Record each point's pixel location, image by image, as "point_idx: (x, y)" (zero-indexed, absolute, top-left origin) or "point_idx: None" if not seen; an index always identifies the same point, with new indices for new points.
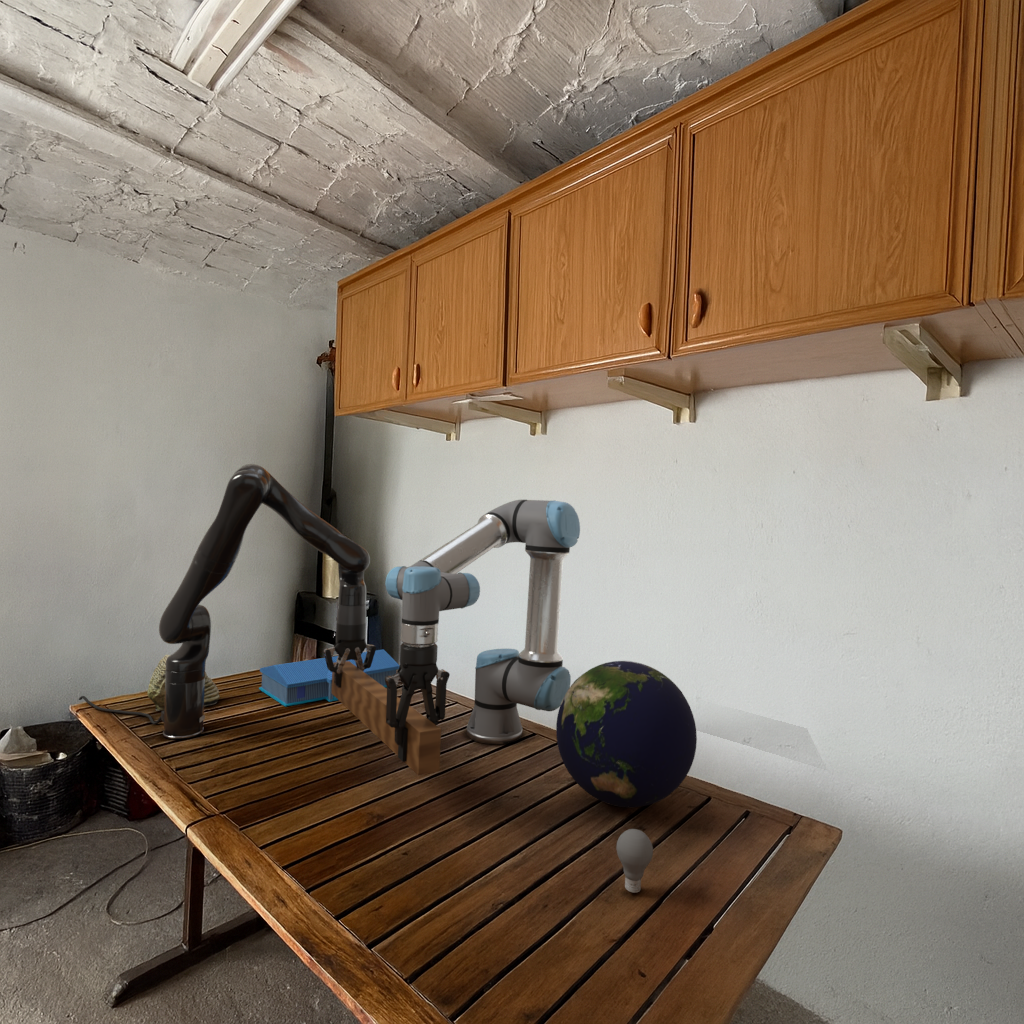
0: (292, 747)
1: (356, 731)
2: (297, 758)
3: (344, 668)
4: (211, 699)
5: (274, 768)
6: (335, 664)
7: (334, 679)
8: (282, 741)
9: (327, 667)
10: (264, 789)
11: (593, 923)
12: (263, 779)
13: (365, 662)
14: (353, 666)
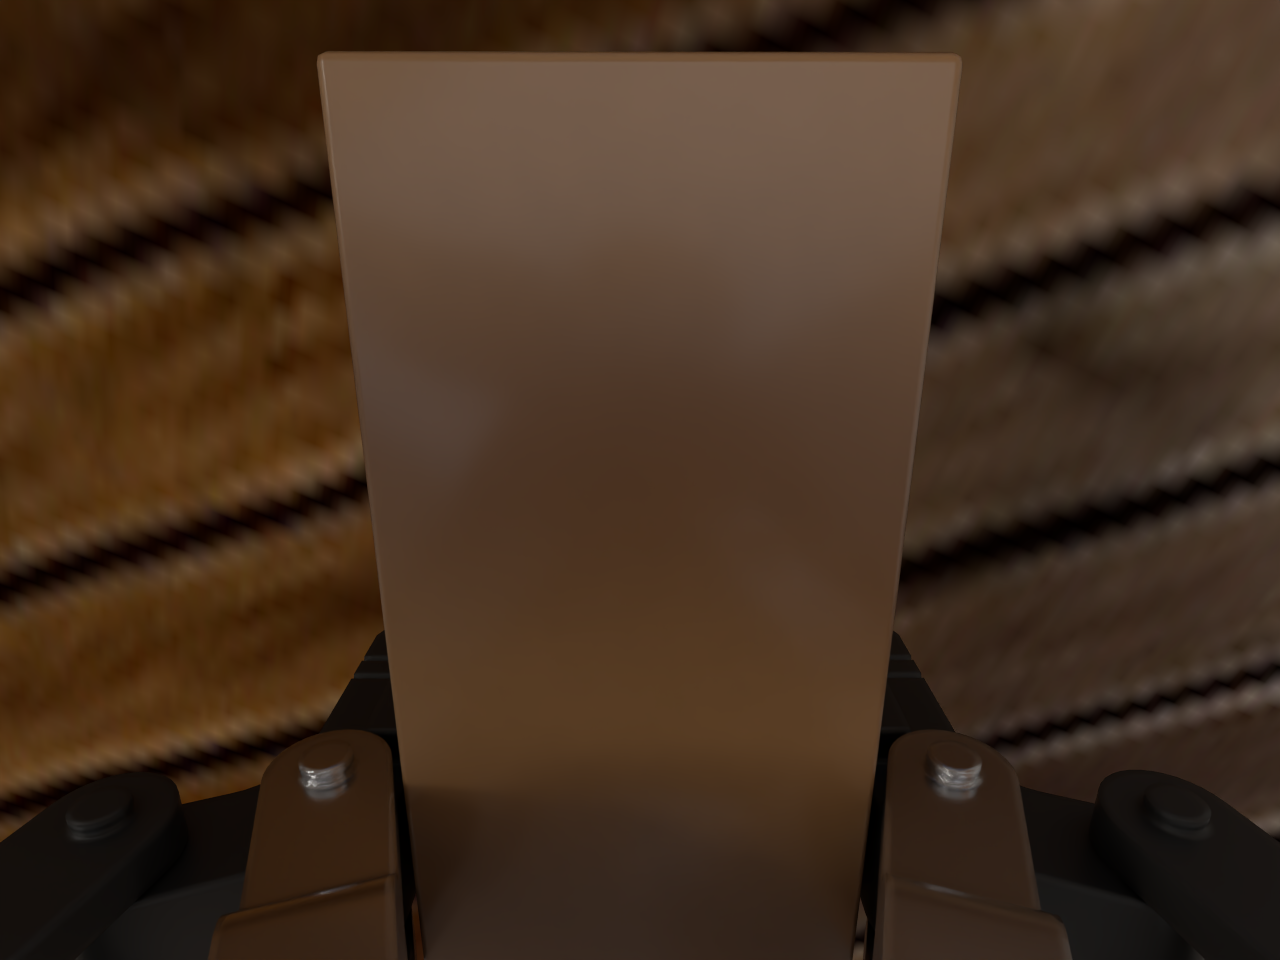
0: (208, 422)
1: None
2: (233, 620)
3: (517, 865)
4: None
5: (87, 700)
6: (367, 375)
7: (359, 681)
8: (131, 261)
9: (33, 842)
10: None
11: None
12: (32, 803)
13: (1162, 926)
14: (802, 775)
